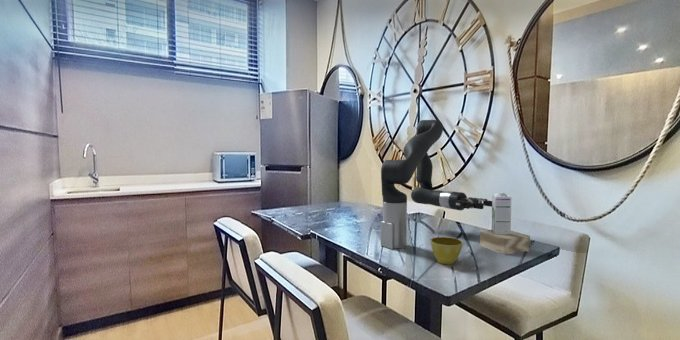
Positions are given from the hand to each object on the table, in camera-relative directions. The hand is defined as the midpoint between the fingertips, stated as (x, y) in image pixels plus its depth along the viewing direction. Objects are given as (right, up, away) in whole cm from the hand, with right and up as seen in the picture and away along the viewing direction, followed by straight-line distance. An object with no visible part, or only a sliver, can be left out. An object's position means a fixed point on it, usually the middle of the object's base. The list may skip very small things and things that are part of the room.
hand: (489, 205), depth 136 cm
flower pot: (-23, -17, -20) cm, 35 cm away
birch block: (+4, -16, -4) cm, 17 cm away
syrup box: (+3, -10, -4) cm, 11 cm away
